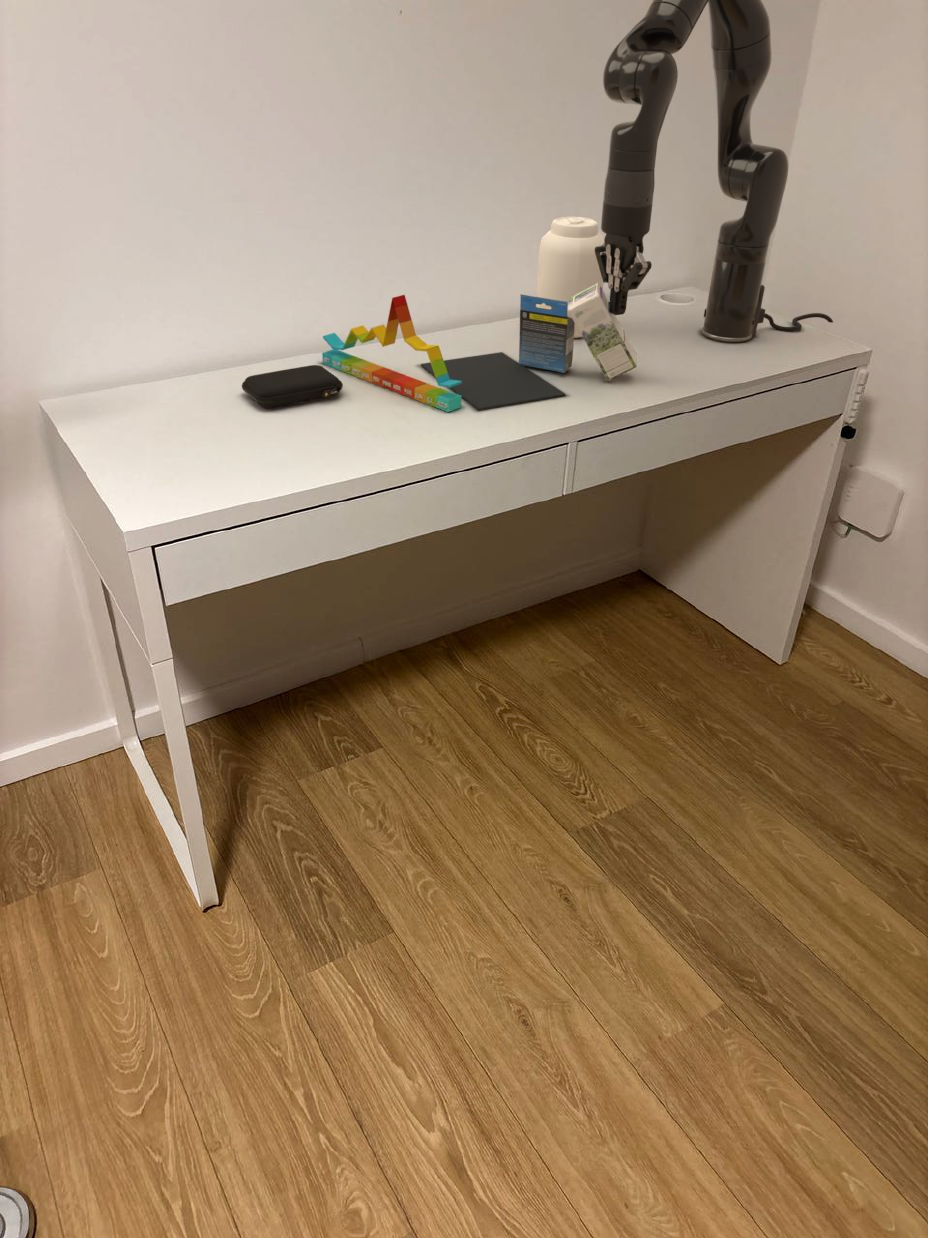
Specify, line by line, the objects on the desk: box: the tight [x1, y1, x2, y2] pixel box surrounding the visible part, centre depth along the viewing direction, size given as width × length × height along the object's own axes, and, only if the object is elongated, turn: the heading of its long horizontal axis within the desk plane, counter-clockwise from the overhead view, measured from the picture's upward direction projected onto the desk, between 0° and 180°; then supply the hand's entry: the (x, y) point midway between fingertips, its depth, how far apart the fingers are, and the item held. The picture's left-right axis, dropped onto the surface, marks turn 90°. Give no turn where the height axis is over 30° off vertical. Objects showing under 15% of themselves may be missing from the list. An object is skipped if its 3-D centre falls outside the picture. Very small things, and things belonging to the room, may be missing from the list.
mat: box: [420, 351, 566, 411], centre depth 164 cm, size 16×22×1 cm
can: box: [535, 215, 605, 339], centre depth 182 cm, size 12×12×20 cm
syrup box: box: [568, 283, 638, 382], centre depth 162 cm, size 6×6×14 cm
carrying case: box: [241, 364, 344, 409], centre depth 155 cm, size 11×3×15 cm
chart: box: [321, 294, 463, 413], centre depth 157 cm, size 30×3×15 cm, turn 47°
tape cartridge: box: [518, 293, 575, 374], centre depth 165 cm, size 9×4×12 cm, turn 62°
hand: (616, 313), depth 158 cm, fingers closed
